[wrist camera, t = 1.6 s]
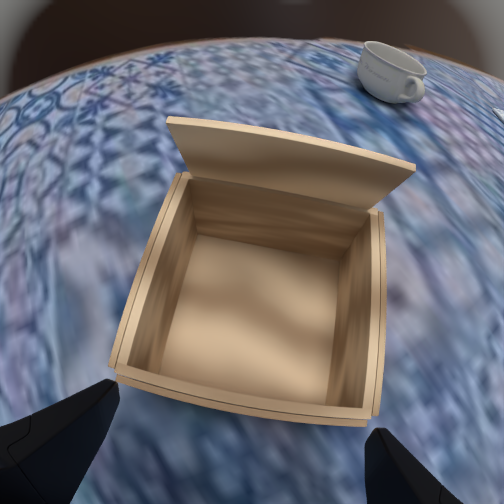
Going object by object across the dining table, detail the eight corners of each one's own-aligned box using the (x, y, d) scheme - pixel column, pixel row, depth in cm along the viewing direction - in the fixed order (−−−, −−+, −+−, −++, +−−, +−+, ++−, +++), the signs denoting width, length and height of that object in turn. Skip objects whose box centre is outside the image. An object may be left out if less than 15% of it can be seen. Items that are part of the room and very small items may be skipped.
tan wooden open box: (332, 422, 21) (376, 426, 14) (144, 387, 21) (105, 377, 14) (348, 260, 28) (383, 210, 21) (189, 230, 28) (177, 170, 21)
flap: (415, 171, 13) (415, 162, 13) (165, 122, 14) (168, 114, 14) (368, 209, 20) (369, 203, 20) (191, 175, 21) (193, 169, 21)
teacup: (346, 71, 46) (356, 34, 38) (399, 84, 46) (413, 50, 39) (366, 116, 39) (382, 71, 32) (426, 130, 39) (447, 91, 32)
